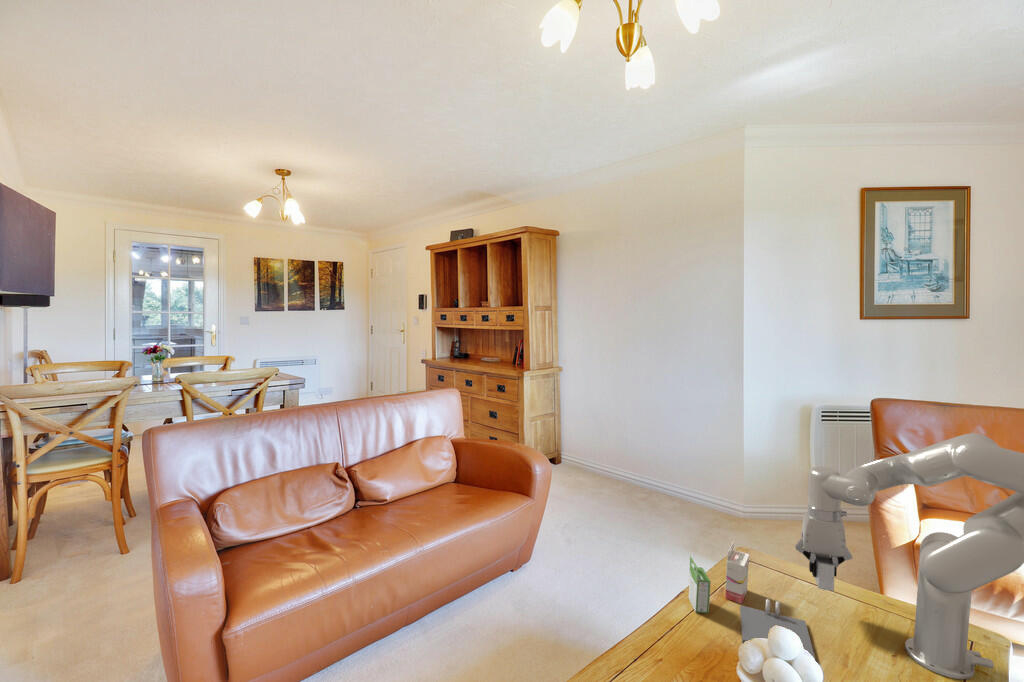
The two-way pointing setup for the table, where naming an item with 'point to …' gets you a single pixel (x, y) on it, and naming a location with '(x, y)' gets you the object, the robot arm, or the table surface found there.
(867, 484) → the robot arm
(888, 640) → the table surface
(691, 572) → the ink box
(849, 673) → the table surface
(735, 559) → the ink cartridge box
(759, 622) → the pin tray
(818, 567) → the block
